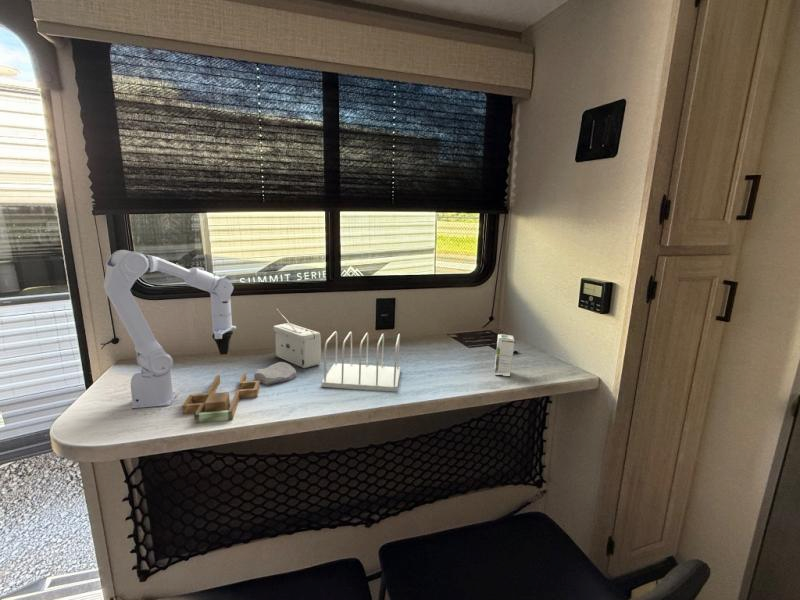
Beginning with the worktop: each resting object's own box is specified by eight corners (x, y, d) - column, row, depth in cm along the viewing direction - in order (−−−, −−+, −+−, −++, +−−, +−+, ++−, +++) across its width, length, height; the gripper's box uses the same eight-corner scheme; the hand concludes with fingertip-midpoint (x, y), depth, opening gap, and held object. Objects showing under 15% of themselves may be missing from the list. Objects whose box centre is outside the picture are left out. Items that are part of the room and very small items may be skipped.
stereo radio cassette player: (322, 365, 140) (321, 314, 136) (303, 370, 134) (302, 317, 130) (290, 352, 153) (289, 305, 149) (272, 357, 147) (271, 308, 143)
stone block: (299, 381, 129) (282, 369, 134) (300, 370, 127) (283, 357, 132) (269, 394, 119) (252, 380, 125) (269, 381, 118) (252, 368, 123)
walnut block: (205, 418, 99) (204, 403, 98) (210, 408, 104) (209, 393, 103) (226, 416, 100) (225, 401, 99) (229, 406, 106) (229, 392, 105)
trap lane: (175, 425, 95) (175, 416, 94) (202, 383, 120) (201, 376, 120) (252, 417, 100) (252, 409, 99) (261, 379, 125) (261, 372, 125)
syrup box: (494, 370, 140) (496, 333, 137) (510, 371, 138) (513, 335, 136) (494, 375, 134) (497, 337, 131) (511, 377, 133) (514, 339, 130)
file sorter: (321, 387, 120) (320, 342, 117) (333, 368, 137) (333, 328, 134) (397, 392, 119) (398, 346, 116) (400, 372, 136) (401, 331, 133)
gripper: (231, 318, 113) (233, 360, 115) (238, 308, 127) (240, 346, 129) (205, 319, 111) (208, 362, 114) (216, 309, 125) (218, 347, 127)
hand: (224, 353), depth 121 cm, fingers closed
